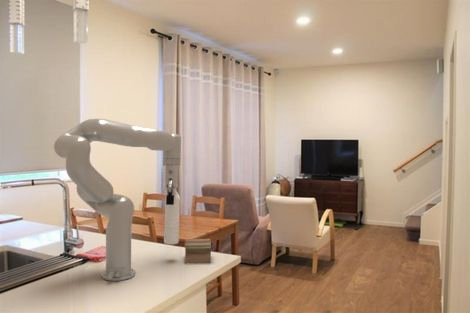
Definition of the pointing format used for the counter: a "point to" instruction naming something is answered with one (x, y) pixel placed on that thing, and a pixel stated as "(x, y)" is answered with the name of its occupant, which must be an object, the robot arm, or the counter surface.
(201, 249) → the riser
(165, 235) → the water bottle
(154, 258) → the counter surface
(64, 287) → the counter surface
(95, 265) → the counter surface
